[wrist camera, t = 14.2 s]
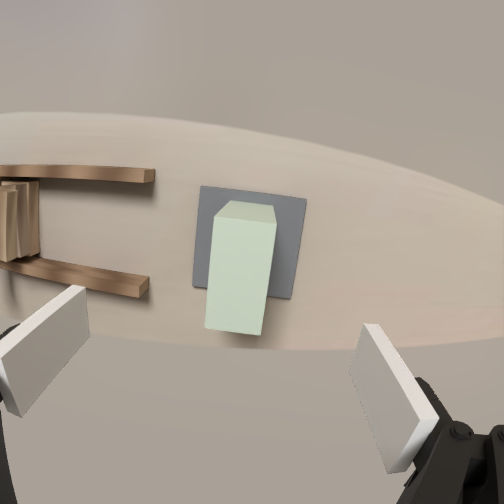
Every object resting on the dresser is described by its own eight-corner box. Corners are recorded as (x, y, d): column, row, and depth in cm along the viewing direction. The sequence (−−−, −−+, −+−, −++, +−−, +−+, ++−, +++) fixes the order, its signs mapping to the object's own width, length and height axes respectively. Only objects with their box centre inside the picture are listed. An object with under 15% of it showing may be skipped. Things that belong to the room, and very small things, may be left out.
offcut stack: (12, 247, 33) (-17, 259, 27) (11, 180, 31) (-21, 184, 25) (40, 252, 33) (11, 266, 27) (40, 180, 31) (8, 185, 25)
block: (221, 280, 32) (204, 327, 23) (230, 200, 30) (214, 216, 21) (261, 285, 32) (260, 335, 23) (272, 205, 30) (276, 224, 21)
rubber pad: (193, 283, 33) (192, 285, 33) (201, 185, 31) (200, 186, 30) (290, 296, 33) (290, 298, 32) (305, 198, 30) (306, 199, 30)
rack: (5, 259, 34) (-45, 283, 24) (3, 165, 30) (-53, 171, 21) (148, 287, 33) (110, 330, 24) (155, 169, 30) (110, 172, 21)
